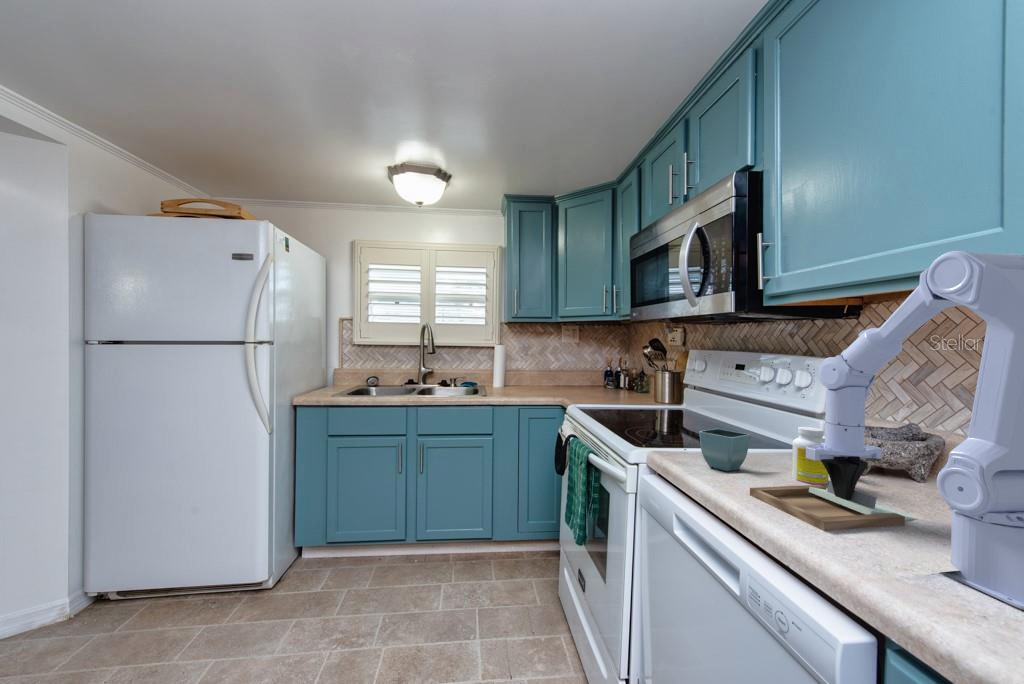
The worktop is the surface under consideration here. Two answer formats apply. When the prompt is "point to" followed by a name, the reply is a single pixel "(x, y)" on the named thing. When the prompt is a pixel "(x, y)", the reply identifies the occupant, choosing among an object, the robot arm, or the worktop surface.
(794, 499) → the wooden box
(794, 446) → the supplement bottle
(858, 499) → the cover plate
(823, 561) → the worktop surface
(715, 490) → the worktop surface
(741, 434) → the flower pot
